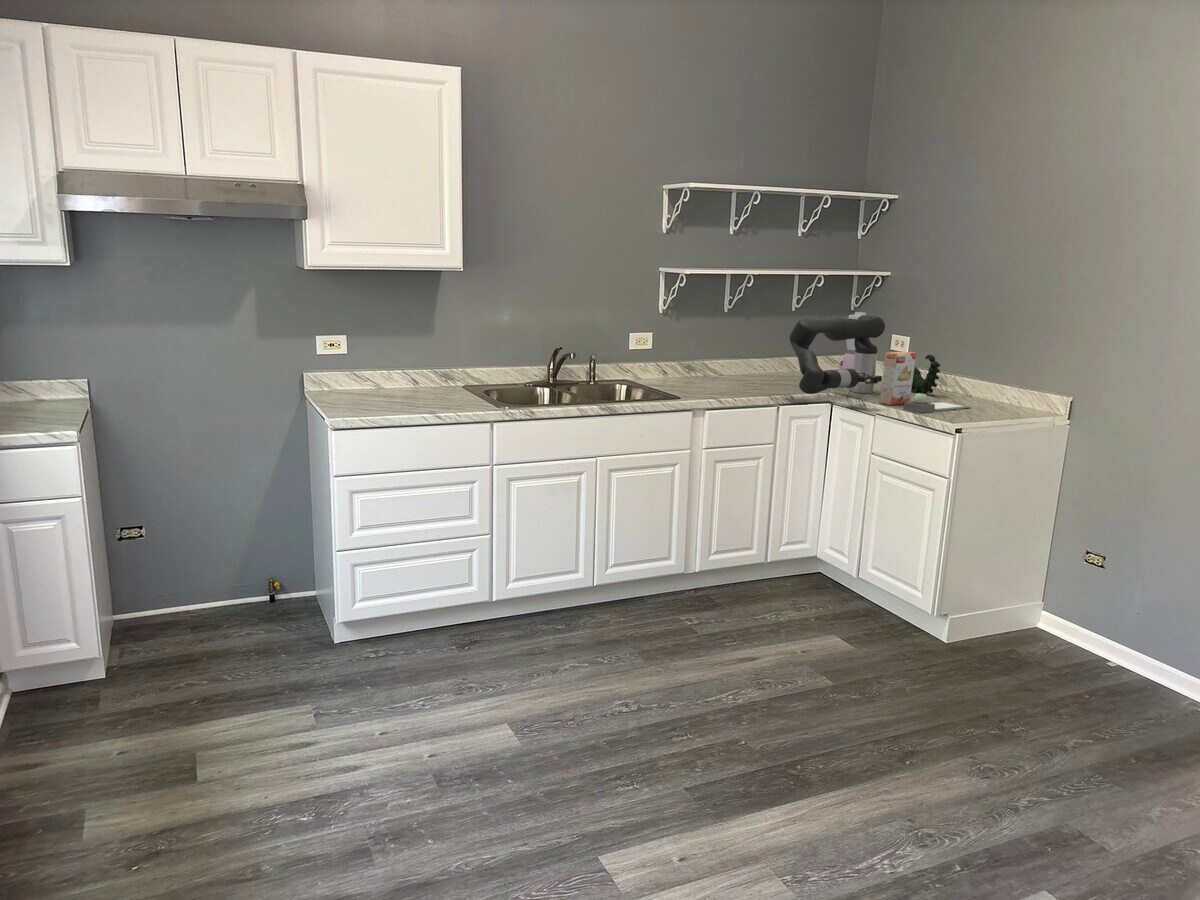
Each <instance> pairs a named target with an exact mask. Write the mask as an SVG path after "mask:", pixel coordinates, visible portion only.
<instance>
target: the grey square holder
mask: <svg viewBox="0 0 1200 900" xmlns="http://www.w3.org/2000/svg"><path fill="white" fill-rule="evenodd" d="M934 409H935V404H931V403H930V402H926V403H925V404H923V405H920V404H915V403H914V400H912V401H910V402H904V405H903V410H904V411H907V410H908V411H907V412H912V411H913V413H917V412H918V414H925V413H935V411H934Z"/></svg>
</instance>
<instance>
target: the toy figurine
mask: <svg viewBox="0 0 1200 900" xmlns="http://www.w3.org/2000/svg"><path fill="white" fill-rule="evenodd" d="M924 359H925V360H927V359H928V361H929V362H930V364H929V365H930V366H929V368H928V373H926V377H925V378H924V377H923V376H922V373H921V371H920V370H919V368H917V366H914V374H913V381H912V389H911V392H913V393H914V394H915V393H919V394H925V393H926V394H928V393H929V394H933V392H934V389H933V387H934V388H937V387H938V384H937V382H936V380H939V378H940V376H939V375H937V374H938V373H940V372H941V370H940V369H939V367H941V364H940V363H939V362H938V361H937V360H936V357H935V355H933V354H927V355H926V356H925V358H924Z"/></svg>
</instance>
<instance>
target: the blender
mask: <svg viewBox="0 0 1200 900" xmlns="http://www.w3.org/2000/svg"><path fill="white" fill-rule="evenodd" d="M862 315H867V312H861V311H860V312H857V311H855V313H854V314H849V315H848V317H847V318H850V319H858V318H859V317H860V316H862ZM869 339H870V340H871V338H870V337H869ZM845 341H846V351H845V353H844V355H843V357H842V360H841V361H840V364H839V365H840V366H841V367H842V368H841V369H853V368H854V358H855V345H854V341H855V338H854V339H847V340H845Z"/></svg>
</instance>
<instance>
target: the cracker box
mask: <svg viewBox="0 0 1200 900" xmlns="http://www.w3.org/2000/svg"><path fill="white" fill-rule="evenodd" d="M884 355H885V356H884V361H883V362H884V364H883V370H882V371H883V372H882V381H881V388H880V394H879V395H880V397H879V404H882V405H887V406H895V405H896V404H897V405H903V404H904V402H911V395H912V391H911V389H912V381H913V374H914V367H916V359H917V352H914V351H892V352H885V354H884Z"/></svg>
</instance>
